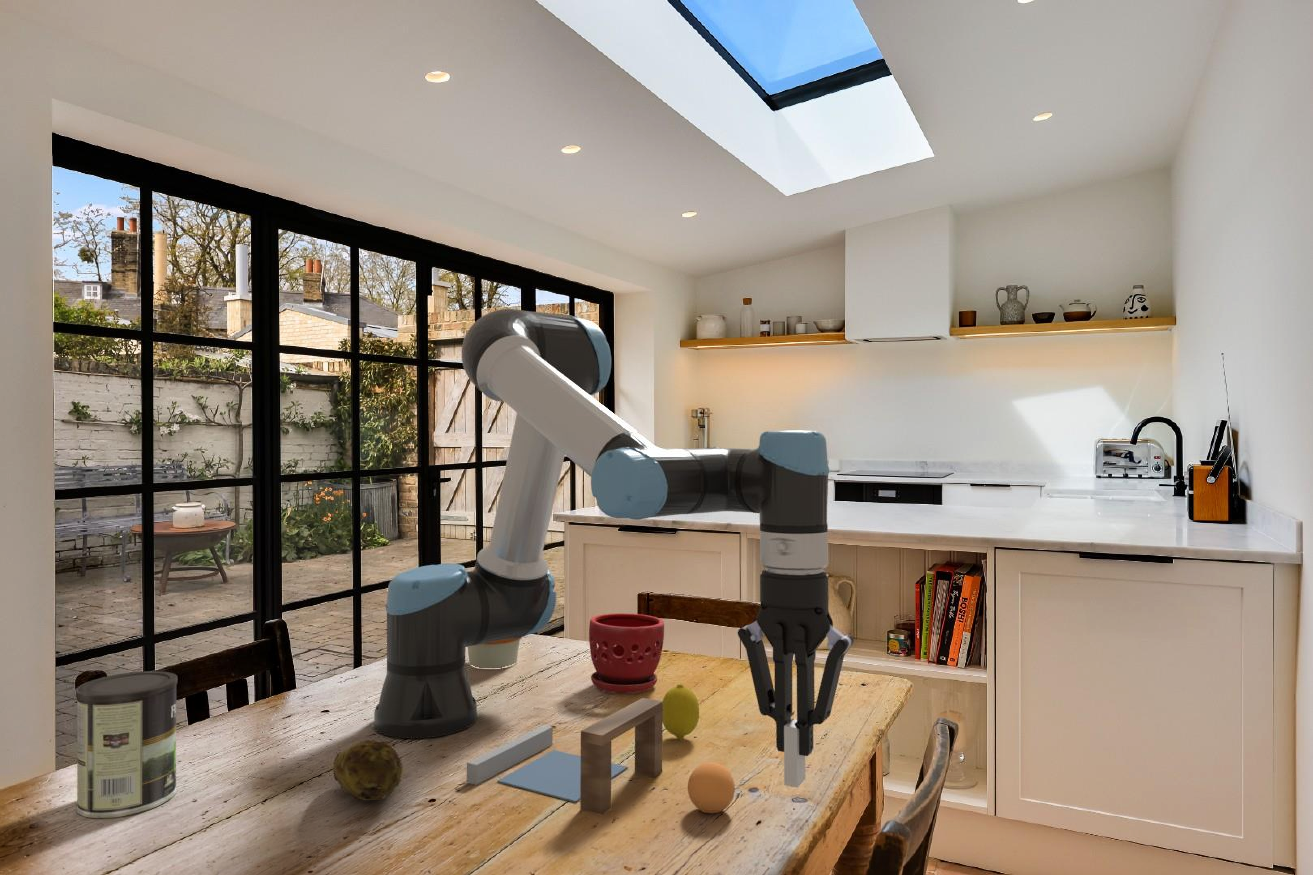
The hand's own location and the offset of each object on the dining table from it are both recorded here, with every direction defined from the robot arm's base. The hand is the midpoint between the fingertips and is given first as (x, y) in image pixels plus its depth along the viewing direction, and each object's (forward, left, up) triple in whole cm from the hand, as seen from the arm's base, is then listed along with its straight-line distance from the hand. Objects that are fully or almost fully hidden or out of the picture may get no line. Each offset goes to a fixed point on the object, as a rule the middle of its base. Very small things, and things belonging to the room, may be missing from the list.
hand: (794, 781), depth 93 cm
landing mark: (-31, 0, -6) cm, 32 cm away
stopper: (-40, 0, -6) cm, 40 cm away
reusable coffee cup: (-74, +37, -6) cm, 83 cm away
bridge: (-22, 0, -6) cm, 23 cm away
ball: (-10, 0, -3) cm, 11 cm away
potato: (-47, -18, -6) cm, 51 cm away
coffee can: (-72, -32, -6) cm, 79 cm away
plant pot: (-44, +37, -6) cm, 58 cm away
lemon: (-24, +19, -6) cm, 31 cm away
